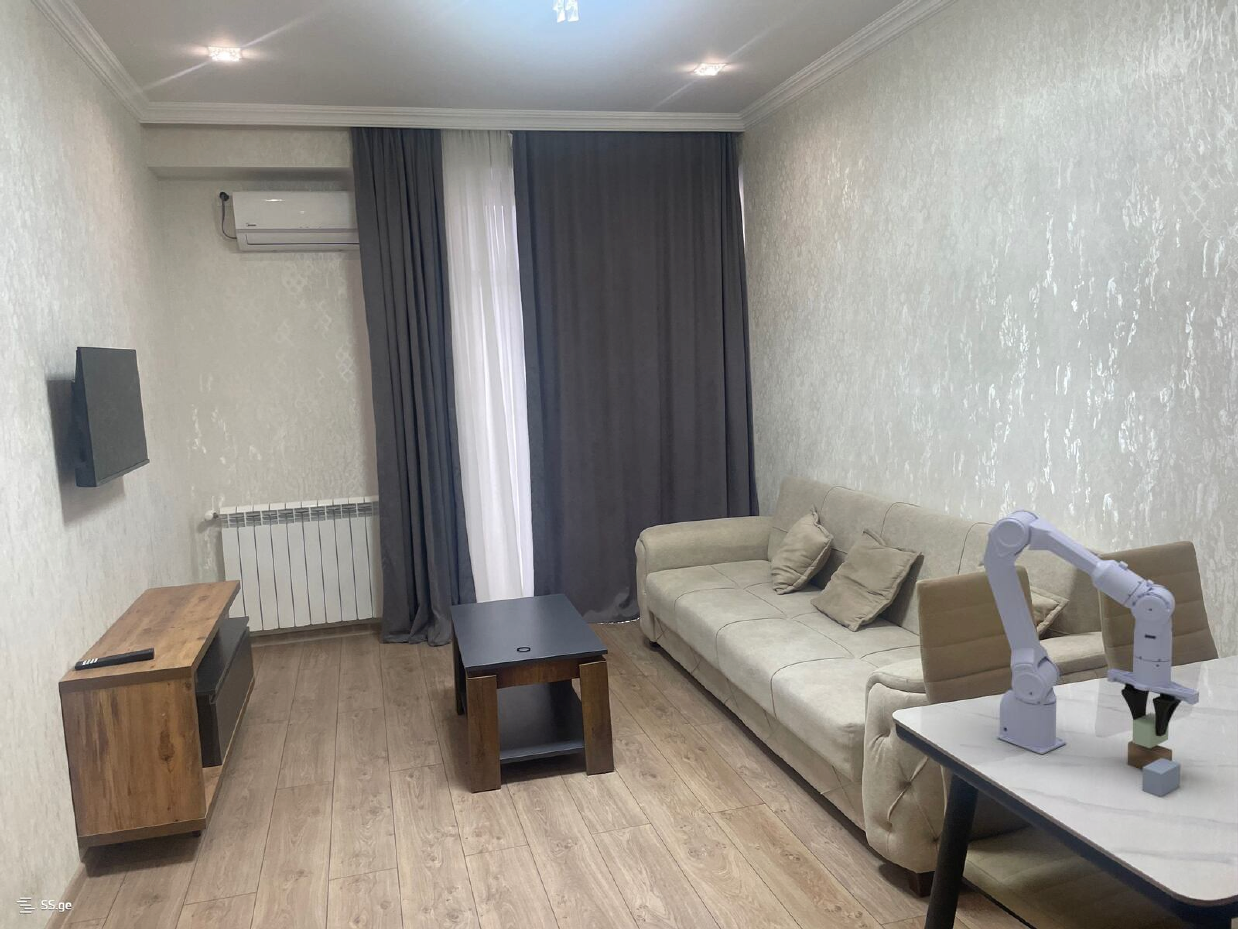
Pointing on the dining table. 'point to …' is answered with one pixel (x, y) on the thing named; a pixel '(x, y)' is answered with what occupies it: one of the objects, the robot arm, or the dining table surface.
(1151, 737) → the sage brick
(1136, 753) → the walnut brick
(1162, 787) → the slate brick
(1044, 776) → the dining table surface
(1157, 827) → the dining table surface
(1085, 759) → the dining table surface
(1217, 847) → the dining table surface
